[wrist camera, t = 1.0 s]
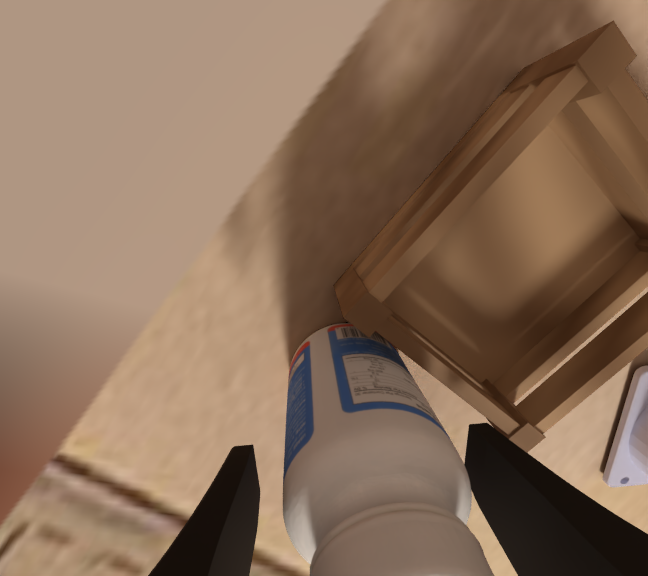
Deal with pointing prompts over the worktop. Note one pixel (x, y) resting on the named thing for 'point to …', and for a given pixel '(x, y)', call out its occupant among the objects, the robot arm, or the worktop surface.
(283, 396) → the worktop surface
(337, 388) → the pill bottle
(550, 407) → the crate
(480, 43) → the worktop surface
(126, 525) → the worktop surface
